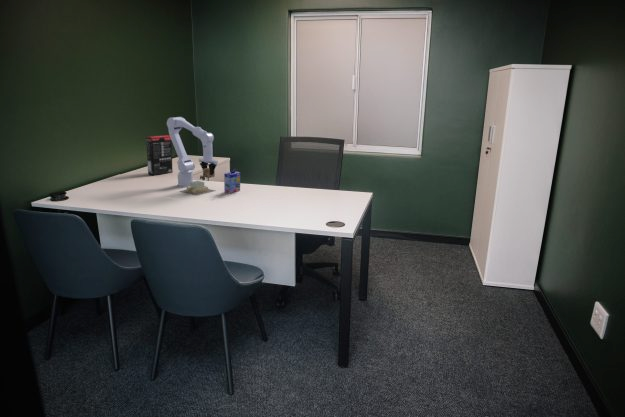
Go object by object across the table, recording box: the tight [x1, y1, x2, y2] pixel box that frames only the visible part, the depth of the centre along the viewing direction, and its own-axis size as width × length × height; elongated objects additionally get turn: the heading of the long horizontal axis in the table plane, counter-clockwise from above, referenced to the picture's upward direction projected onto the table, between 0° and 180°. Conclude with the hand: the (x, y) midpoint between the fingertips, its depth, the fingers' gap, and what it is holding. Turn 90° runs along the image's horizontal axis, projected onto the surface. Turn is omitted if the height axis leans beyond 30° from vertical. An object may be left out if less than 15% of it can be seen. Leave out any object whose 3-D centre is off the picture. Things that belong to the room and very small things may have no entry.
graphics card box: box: [145, 134, 174, 176], centre depth 319 cm, size 17×7×27 cm, turn 144°
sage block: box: [190, 180, 205, 189], centre depth 272 cm, size 6×6×3 cm
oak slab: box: [186, 185, 209, 193], centre depth 273 cm, size 9×9×2 cm
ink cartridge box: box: [223, 168, 241, 195], centre depth 273 cm, size 10×6×14 cm, turn 152°
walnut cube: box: [202, 167, 216, 179], centre depth 279 cm, size 5×5×5 cm
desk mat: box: [178, 188, 216, 196], centre depth 274 cm, size 16×16×1 cm
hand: (208, 174), depth 279 cm, fingers closed on walnut cube, 5 cm apart
